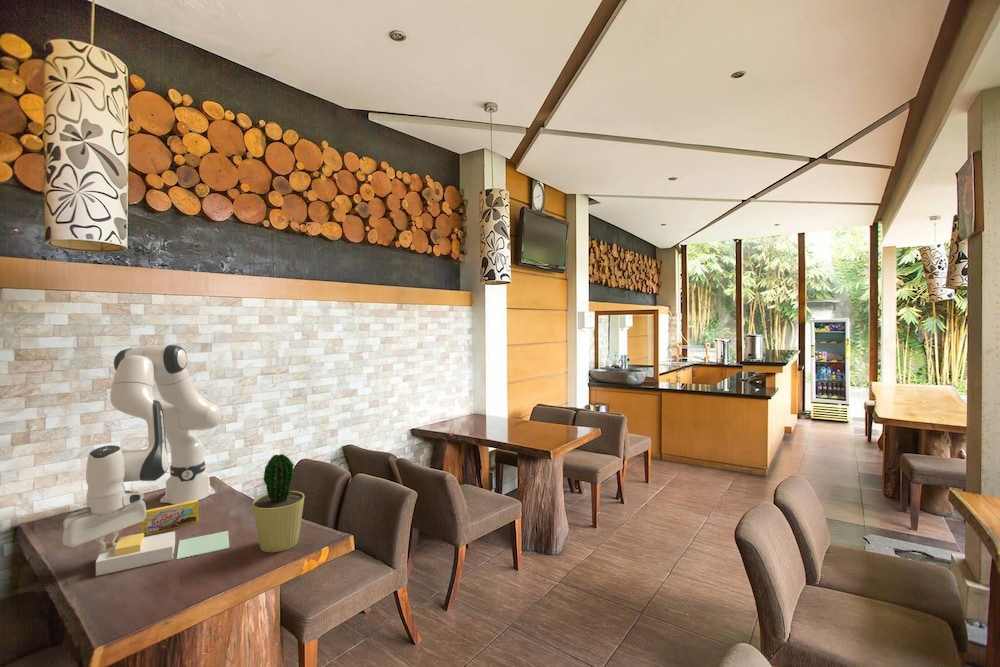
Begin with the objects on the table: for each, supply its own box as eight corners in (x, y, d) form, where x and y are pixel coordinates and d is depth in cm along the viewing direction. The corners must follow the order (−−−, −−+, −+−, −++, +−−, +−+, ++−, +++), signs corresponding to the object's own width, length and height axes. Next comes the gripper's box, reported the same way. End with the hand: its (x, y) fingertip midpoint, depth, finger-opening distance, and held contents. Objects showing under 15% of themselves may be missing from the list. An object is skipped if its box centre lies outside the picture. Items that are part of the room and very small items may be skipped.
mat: (179, 541, 155) (179, 540, 155) (228, 531, 162) (228, 530, 162) (176, 559, 143) (176, 558, 143) (229, 548, 151) (229, 547, 151)
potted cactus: (250, 559, 144) (248, 462, 143) (255, 537, 158) (254, 449, 157) (304, 550, 149) (303, 456, 149) (305, 530, 164) (304, 444, 163)
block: (119, 543, 145) (119, 537, 145) (143, 539, 148) (143, 532, 148) (114, 556, 137) (114, 549, 137) (140, 551, 141) (140, 544, 140)
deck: (104, 557, 144) (103, 544, 144) (175, 543, 154) (175, 531, 154) (95, 575, 134) (95, 562, 134) (172, 559, 144) (172, 546, 143)
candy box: (142, 537, 158) (141, 512, 158) (141, 535, 160) (141, 510, 160) (198, 523, 169) (198, 500, 169) (197, 521, 171) (197, 498, 171)
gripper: (70, 517, 129) (71, 567, 129) (149, 492, 148) (150, 535, 148) (56, 514, 131) (57, 563, 132) (136, 489, 150) (137, 532, 151)
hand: (107, 548), depth 140 cm, fingers closed
